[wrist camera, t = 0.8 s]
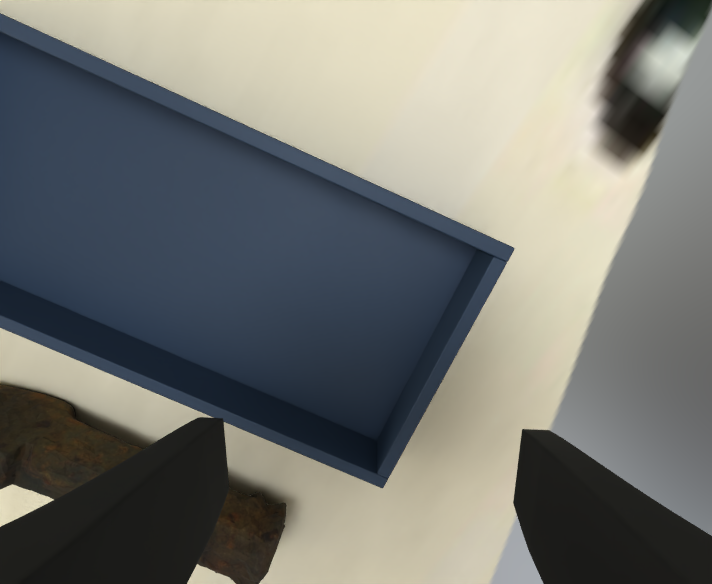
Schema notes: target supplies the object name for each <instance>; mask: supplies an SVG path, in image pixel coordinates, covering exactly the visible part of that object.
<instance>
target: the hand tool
mask: <svg viewBox="0 0 712 584" xmlns="http://www.w3.org/2000/svg"><path fill="white" fill-rule="evenodd" d="M142 450H143V449H142V448H140V447H137V446H133V445H130V444H128V443H126V442H124V441H122V440H120V439H117V438H115V437H113V436H111V435H109V434H106V433H104V432H102V431H99V430H97V429H95V428H93V427H90V426H88V425H86V424H84V423H82V422H80V421H78V420H76V419H75V413H74V408H73V407H72V406H70V405H69V404H68V403H66V402H65V401H63V400H60V399H57V398H54V397H51V396H48V395H45V394H43V393H38V392H33V391H28V390H24V389H20V388H15V387H11V386H6V385H0V489H2V488H5V487H7V486H9V485H11V484H13V485H16V486H19V487H21V488H24V489H28V490H32V491H34V492H37V493H39V494H42V495H45V496H48V497H50V498H52V499H54V500H55V499H57V498H59V497H61V496H63V495H65V494H66V493H68V492H70V491H72V490H74V489H75V488H77V487H79V486H81V485H83V484H84V483H86V482H88V481H90V480H92V479H93V478H95V477H97V476H99V475H100V474H102V473H104V472H106V471H108V470H109V469H111V468H113V467H115V466H116V465H118V464H120V463H122V462H123V461H125V460H127V459H128V458H130V457H132V456H133V455H135V454H137V453H138V452H140V451H142ZM285 517H286V504H285V503H281V504H274V505H270V504H267V503H266V501H265V499H264V497H263V496H262V495H261V493H260V492H257V493H254V494H252V495H251V496H249V495H245V494H241V493H240V492H237V491H235V490H233V489H231V488H229V491H228V494H227V497H226V500H225V502H224V505H223V508H222V511H221V513H220V516H219V518H218V521H217V523H216V526H215V528H214V531H213V533H212V535H211V537H210V539H209V541H208V543H207V545H206V547H205V549H204V551H203V553H202V555H201V557H200V559H199V561H198V563H197V564H198V565H200V566H203V567H207V568H209V569H210V570H213V571H215V573H220V574H222V575H225V576H228V577H230V578H231V580H233V581H234V582H235V583H236V584H259V583H260V581H261V580H262V579H263V578H264V577H265V575H266V574H267V573H268V570H269V567H270V564H271V562H272V559H273V557H274V554H275V552H276V549H277V546H278V544H279V541H280V538H281V535H282V532H283V529H284V527H285V525H284V523H285Z"/></svg>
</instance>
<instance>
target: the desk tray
mask: <svg viewBox="0 0 712 584" xmlns="http://www.w3.org/2000/svg"><path fill="white" fill-rule="evenodd" d="M513 251H514V248H513V247H511V246H509V245H507V244H505V243H502V242H500V241H498V240H496V239H494V238H491V237H489V236H487V235H485V234H483V233H480V232H478V231H476V230H474V229H472V228H469V227H467V226H465V225H463V224H461V223H459V222H456V221H454V220H452V219H450V218H448V217H445V216H443V215H441V214H439V213H437V212H434V211H432V210H430V209H428V208H426V207H423V206H421V205H419V204H417V203H415V202H413V201H410V200H408V199H406V198H404V197H402V196H399V195H397V194H395V193H393V192H391V191H388V190H386V189H384V188H382V187H380V186H377V185H375V184H373V183H371V182H369V181H367V180H364V179H362V178H360V177H358V176H356V175H353V174H351V173H349V172H347V171H345V170H342V169H340V168H338V167H336V166H334V165H331V164H329V163H327V162H325V161H323V160H321V159H318V158H316V157H314V156H312V155H310V154H307V153H305V152H303V151H301V150H299V149H296V148H294V147H292V146H290V145H288V144H285V143H283V142H281V141H279V140H277V139H275V138H272V137H270V136H268V135H266V134H264V133H261V132H259V131H257V130H255V129H253V128H250V127H248V126H246V125H244V124H242V123H239V122H237V121H235V120H233V119H231V118H229V117H226V116H224V115H222V114H220V113H218V112H215V111H213V110H211V109H209V108H207V107H204V106H202V105H200V104H198V103H196V102H194V101H191V100H189V99H187V98H185V97H183V96H180V95H178V94H176V93H174V92H172V91H169V90H167V89H165V88H163V87H161V86H158V85H156V84H154V83H152V82H150V81H148V80H145V79H143V78H141V77H139V76H137V75H134V74H132V73H130V72H128V71H126V70H123V69H121V68H119V67H117V66H115V65H112V64H110V63H108V62H106V61H104V60H102V59H99V58H97V57H95V56H93V55H91V54H88V53H86V52H84V51H82V50H80V49H77V48H75V47H73V46H71V45H69V44H66V43H64V42H62V41H60V40H58V39H56V38H53V37H51V36H49V35H47V34H45V33H42V32H40V31H38V30H36V29H34V28H31V27H29V26H27V25H25V24H23V23H20V22H18V21H16V20H14V19H12V18H10V17H7V16H5V15H3V14H1V13H0V328H2V329H5V330H7V331H10V332H12V333H14V334H17V335H19V336H22V337H24V338H26V339H29V340H31V341H33V342H36V343H38V344H41V345H43V346H45V347H48V348H50V349H52V350H55V351H57V352H60V353H62V354H64V355H67V356H69V357H71V358H74V359H76V360H79V361H81V362H83V363H86V364H88V365H90V366H93V367H95V368H98V369H100V370H102V371H105V372H107V373H109V374H112V375H114V376H117V377H119V378H121V379H124V380H126V381H128V382H131V383H133V384H136V385H138V386H140V387H143V388H145V389H148V390H150V391H152V392H155V393H157V394H159V395H162V396H164V397H167V398H169V399H171V400H174V401H176V402H178V403H181V404H183V405H186V406H188V407H190V408H193V409H195V410H197V411H200V412H202V413H205V414H207V415H209V416H212V417H214V418H223V421H224V422H226V423H228V424H231V425H233V426H235V427H238V428H240V429H243V430H245V431H247V432H250V433H252V434H254V435H257V436H259V437H262V438H264V439H266V440H269V441H271V442H273V443H276V444H278V445H281V446H283V447H285V448H288V449H290V450H293V451H295V452H297V453H300V454H302V455H304V456H307V457H309V458H312V459H314V460H316V461H319V462H321V463H323V464H326V465H328V466H331V467H333V468H335V469H338V470H340V471H342V472H345V473H347V474H350V475H352V476H354V477H357V478H359V479H361V480H364V481H366V482H369V483H371V484H373V485H376V486H378V487H380V488H383V487H384V486H385V484H386V482H387V480H388V478H389V476H390V474H391V473H392V471H393V469H394V467H395V465H396V464H397V462H398V460H399V458H400V456H401V454H402V453H403V451H404V449H405V447H406V445H407V444H408V442H409V440H410V438H411V436H412V435H413V433H414V431H415V429H416V427H417V425H418V424H419V422H420V420H421V418H422V416H423V415H424V413H425V411H426V409H427V407H428V405H429V404H430V402H431V400H432V398H433V396H434V395H435V393H436V391H437V389H438V387H439V385H440V384H441V382H442V380H443V378H444V376H445V375H446V373H447V371H448V369H449V367H450V365H451V364H452V362H453V360H454V358H455V356H456V355H457V353H458V351H459V349H460V347H461V345H462V344H463V342H464V340H465V338H466V336H467V335H468V333H469V331H470V329H471V327H472V325H473V324H474V322H475V320H476V318H477V316H478V315H479V313H480V311H481V309H482V307H483V305H484V304H485V302H486V300H487V298H488V296H489V295H490V293H491V291H492V289H493V287H494V285H495V284H496V282H497V280H498V278H499V276H500V275H501V273H502V271H503V269H504V267H505V265H506V264H507V261H508V260H509V258H510V256H511V255H512V253H513Z"/></svg>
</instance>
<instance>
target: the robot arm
mask: <svg viewBox="0 0 712 584" xmlns="http://www.w3.org/2000/svg"><path fill="white" fill-rule="evenodd" d="M228 491H229V481H228V469H227V458H226V446H225V435H224V423H223V418H202V417H199V418H197V419H195V420H193V421H191V422H189V423H187V424H185V425H184V426H182V427H180V428H178V429H177V430H175V431H173V432H172V433H170V434H168V435H167V436H165V437H163V438H162V439H160V440H158V441H157V442H155V443H153V444H152V445H150V446H148V447H147V448H145V449H143V450H142V451H140V452H138V453H137V454H135V455H133V456H132V457H130V458H128V459H127V460H125V461H123V462H122V463H120V464H118V465H116V466H115V467H113V468H111V469H109V470H108V471H106V472H104V473H102V474H100V475H99V476H97V477H95V478H93V479H92V480H90V481H88V482H86V483H84V484H83V485H81V486H79V487H77V488H75V489H74V490H72V491H70V492H68V493H66V494H65V495H63V496H61V497H59V498H57V499H55V500H53V501H52V502H50V503H48V504H46V505H44V506H42V507H40V508H38V509H36V510H34V511H32V512H30V513H28V514H26V515H24V516H22V517H20V518H18V519H16V520H14V521H12V522H9V523H7V524H5V525H3V526H1V527H0V584H187V582H188V580H189V578H190V576H191V574H192V573H193V571H194V569H195V567H196V565H197V563H198V561H199V559H200V557H201V555H202V553H203V551H204V549H205V547H206V545H207V543H208V541H209V539H210V537H211V535H212V533H213V531H214V528H215V526H216V523H217V521H218V518H219V516H220V513H221V511H222V508H223V505H224V502H225V500H226V497H227V494H228ZM513 503H514V506H515V510H516V513H517V516H518V519H519V522H520V526H521V529H522V532H523V535H524V538H525V541H526V544H527V547H528V550H529V552H530V554H531V556H532V559H533V561H534V563H535V565H536V568H537V570H538V572H539V574H540V577H541V579H542V581H543V583H544V584H712V536H711V535H709V534H707V533H706V532H704V531H703V530H701V529H700V528H698V527H696V526H695V525H693V524H691V523H690V522H688V521H687V520H685V519H683V518H682V517H680V516H678V515H677V514H675V513H674V512H672V511H670V510H669V509H667V508H666V507H664V506H663V505H661V504H659V503H658V502H656V501H655V500H653V499H652V498H650V497H649V496H647V495H646V494H644V493H643V492H641V491H640V490H638V489H636V488H635V487H633V486H632V485H631V484H629V483H627V482H626V481H624V480H623V479H622V478H620V477H619V476H617V475H615V474H614V473H613V472H611V471H610V470H608V469H607V468H605V467H604V466H603V465H601V464H600V463H598V462H596V461H595V460H594V459H592V458H591V457H589V456H588V455H586V454H585V453H583V452H582V451H581V450H579V449H578V448H576V447H574V446H573V445H572V444H570V443H569V442H567V441H566V440H564V439H563V438H561V437H559V436H558V435H556V434H554V433H553V432H551V431H549V430H527V429H522V436H521V444H520V452H519V461H518V469H517V477H516V486H515V494H514V502H513Z"/></svg>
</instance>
